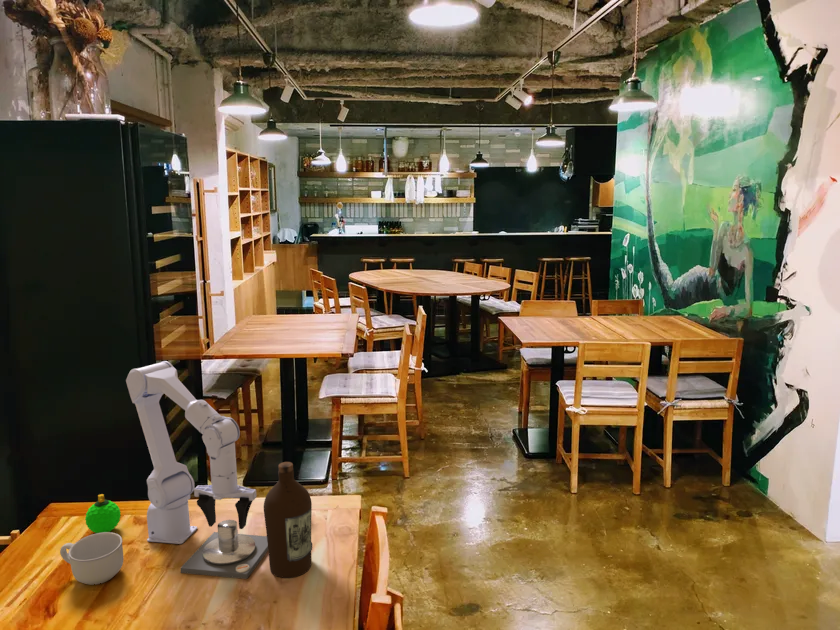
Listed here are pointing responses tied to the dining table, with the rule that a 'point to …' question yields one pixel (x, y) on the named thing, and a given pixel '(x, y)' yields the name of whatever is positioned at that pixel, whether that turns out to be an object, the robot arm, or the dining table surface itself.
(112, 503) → the ornament
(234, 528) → the cylinder
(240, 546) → the scale pan
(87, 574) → the teacup
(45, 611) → the dining table surface
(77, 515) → the dining table surface
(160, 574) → the dining table surface
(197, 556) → the scale base
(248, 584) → the dining table surface
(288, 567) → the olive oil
